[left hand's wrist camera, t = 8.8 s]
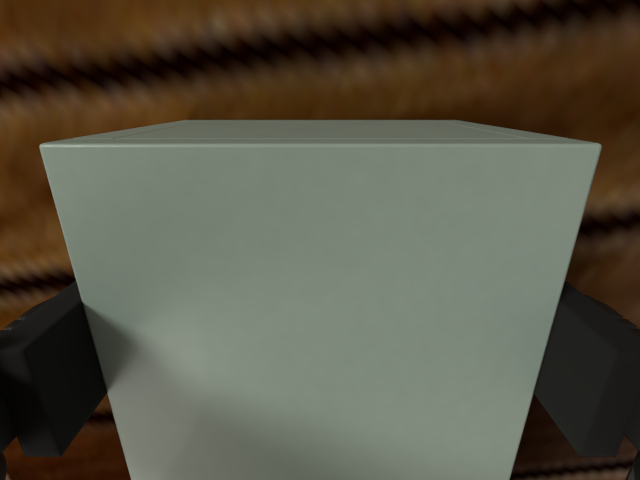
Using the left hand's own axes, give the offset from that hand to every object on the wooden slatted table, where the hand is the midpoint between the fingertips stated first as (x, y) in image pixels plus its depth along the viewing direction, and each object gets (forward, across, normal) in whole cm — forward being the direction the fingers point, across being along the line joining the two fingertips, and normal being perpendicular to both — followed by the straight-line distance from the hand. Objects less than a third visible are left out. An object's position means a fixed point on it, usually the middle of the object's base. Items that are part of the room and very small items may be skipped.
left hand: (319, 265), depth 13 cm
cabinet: (+3, 0, -3) cm, 5 cm away
